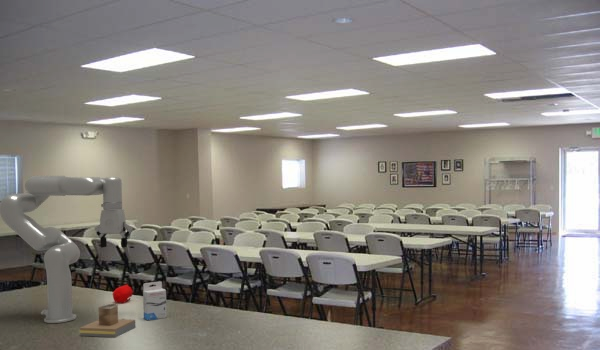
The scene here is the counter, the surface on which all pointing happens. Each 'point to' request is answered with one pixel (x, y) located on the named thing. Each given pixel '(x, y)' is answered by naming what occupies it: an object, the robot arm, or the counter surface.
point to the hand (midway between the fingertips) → (113, 247)
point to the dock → (107, 328)
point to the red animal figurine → (122, 294)
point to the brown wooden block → (108, 314)
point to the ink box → (154, 301)
